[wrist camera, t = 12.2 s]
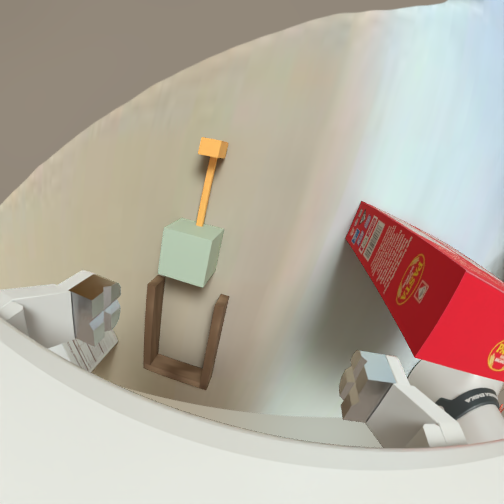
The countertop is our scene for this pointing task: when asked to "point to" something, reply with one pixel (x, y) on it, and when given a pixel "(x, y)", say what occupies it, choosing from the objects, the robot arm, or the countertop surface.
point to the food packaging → (433, 293)
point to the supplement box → (86, 351)
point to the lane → (169, 365)
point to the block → (194, 233)
